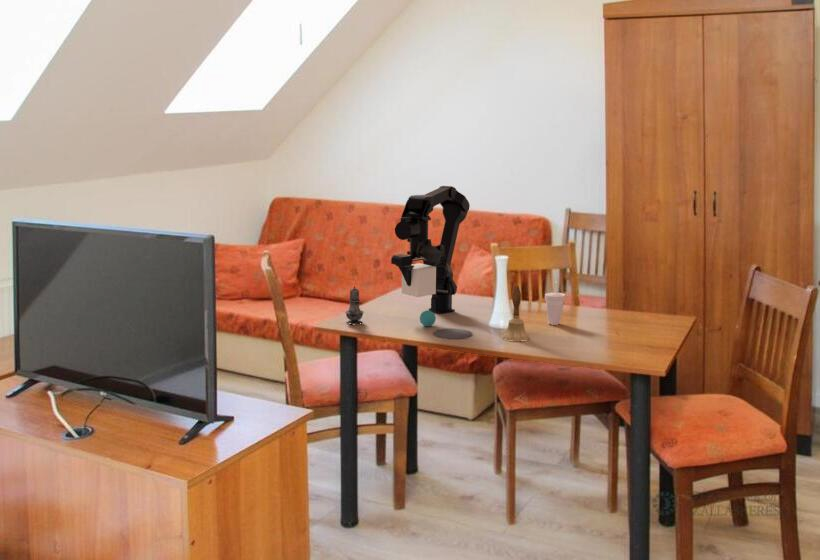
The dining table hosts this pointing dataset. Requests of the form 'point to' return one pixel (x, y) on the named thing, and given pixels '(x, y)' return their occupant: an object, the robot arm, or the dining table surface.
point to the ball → (427, 318)
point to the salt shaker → (354, 308)
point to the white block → (421, 281)
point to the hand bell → (516, 320)
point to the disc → (452, 333)
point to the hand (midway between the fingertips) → (418, 284)
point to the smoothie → (554, 306)
